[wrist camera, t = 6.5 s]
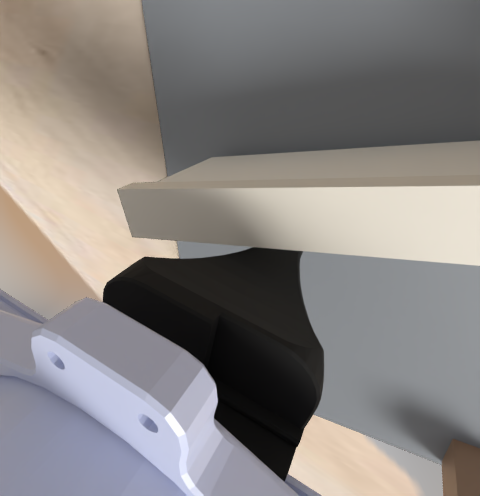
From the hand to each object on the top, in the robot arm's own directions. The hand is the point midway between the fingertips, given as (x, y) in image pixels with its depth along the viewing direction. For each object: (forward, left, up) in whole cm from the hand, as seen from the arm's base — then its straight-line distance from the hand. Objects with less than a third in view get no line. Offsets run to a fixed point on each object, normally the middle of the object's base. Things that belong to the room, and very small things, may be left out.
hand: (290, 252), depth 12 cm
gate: (-3, -3, -2) cm, 4 cm away
